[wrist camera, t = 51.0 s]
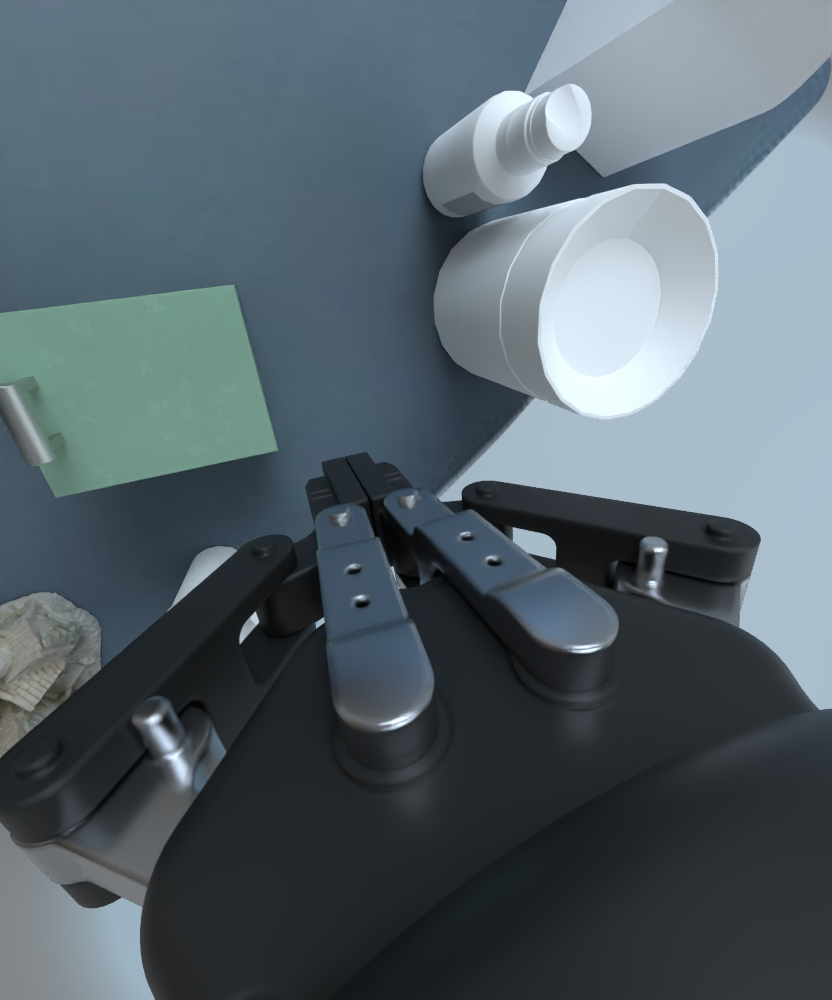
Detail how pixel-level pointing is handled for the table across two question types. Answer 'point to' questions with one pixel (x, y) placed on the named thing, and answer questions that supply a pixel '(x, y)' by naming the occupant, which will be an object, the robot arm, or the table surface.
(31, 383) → the lid
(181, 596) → the foam cup
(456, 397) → the table surface
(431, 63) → the table surface
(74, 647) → the ceramic cottage
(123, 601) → the table surface
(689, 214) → the canister
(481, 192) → the spray bottle
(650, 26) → the milk
